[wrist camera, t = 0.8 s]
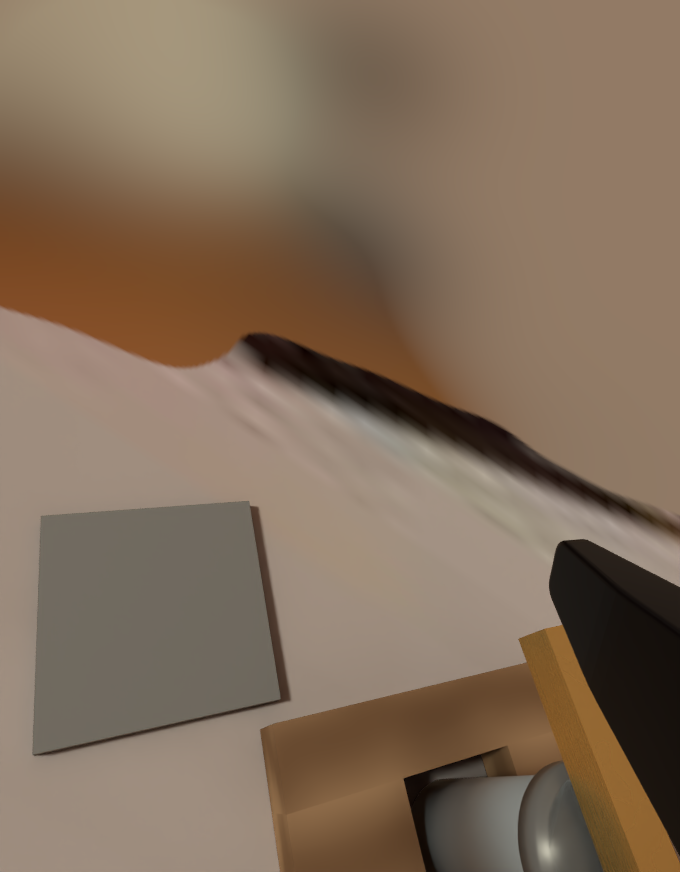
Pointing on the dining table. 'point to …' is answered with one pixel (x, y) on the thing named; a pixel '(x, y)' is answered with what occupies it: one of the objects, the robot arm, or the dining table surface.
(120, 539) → the rubber mat
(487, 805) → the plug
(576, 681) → the bar
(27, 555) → the dining table surface
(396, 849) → the socket base
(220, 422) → the dining table surface
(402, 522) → the dining table surface
